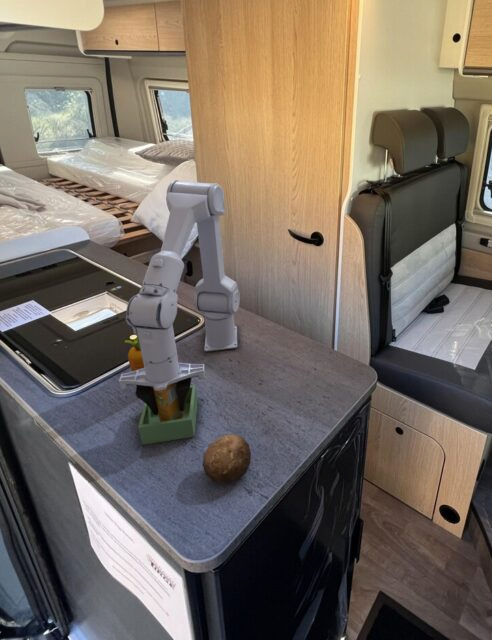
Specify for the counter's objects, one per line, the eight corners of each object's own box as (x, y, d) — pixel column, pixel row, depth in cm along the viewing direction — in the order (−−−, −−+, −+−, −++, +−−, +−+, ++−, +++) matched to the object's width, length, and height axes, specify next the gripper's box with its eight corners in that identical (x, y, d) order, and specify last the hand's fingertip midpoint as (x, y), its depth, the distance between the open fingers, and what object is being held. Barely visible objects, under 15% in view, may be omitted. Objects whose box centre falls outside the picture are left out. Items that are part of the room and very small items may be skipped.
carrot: (151, 400, 82) (139, 342, 76) (130, 396, 83) (117, 338, 76) (165, 384, 86) (155, 328, 80) (145, 380, 87) (134, 324, 81)
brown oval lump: (226, 425, 73) (223, 422, 67) (261, 451, 72) (259, 450, 66) (197, 466, 69) (190, 466, 64) (232, 494, 68) (229, 496, 62)
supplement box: (158, 423, 76) (150, 384, 72) (170, 411, 79) (163, 372, 75) (172, 429, 75) (164, 389, 71) (184, 416, 78) (178, 377, 74)
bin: (150, 407, 80) (147, 391, 78) (197, 401, 82) (195, 384, 80) (142, 445, 72) (137, 427, 70) (194, 436, 74) (191, 419, 72)
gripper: (109, 373, 65) (123, 431, 70) (200, 362, 68) (207, 419, 74) (119, 347, 71) (132, 402, 77) (202, 338, 75) (209, 392, 80)
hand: (169, 409), depth 76 cm, fingers closed on supplement box, 4 cm apart
